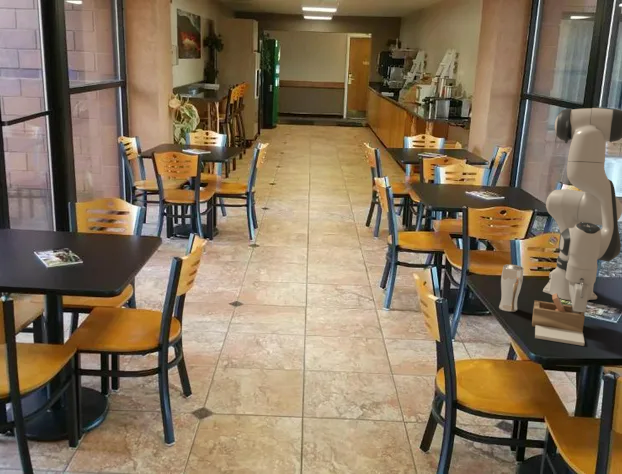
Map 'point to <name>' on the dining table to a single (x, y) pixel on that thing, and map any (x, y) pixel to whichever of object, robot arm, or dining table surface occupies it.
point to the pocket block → (556, 317)
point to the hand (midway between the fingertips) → (574, 315)
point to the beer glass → (510, 287)
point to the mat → (559, 335)
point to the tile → (558, 303)
